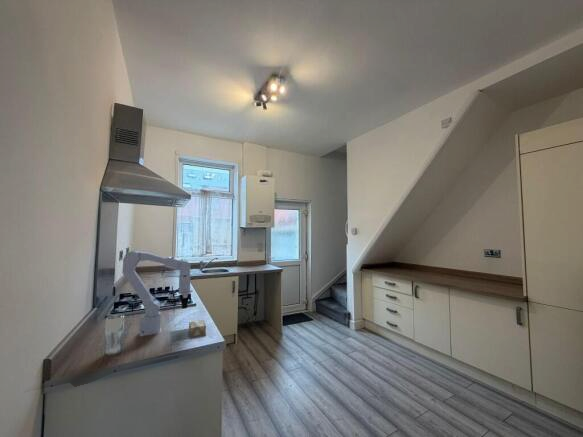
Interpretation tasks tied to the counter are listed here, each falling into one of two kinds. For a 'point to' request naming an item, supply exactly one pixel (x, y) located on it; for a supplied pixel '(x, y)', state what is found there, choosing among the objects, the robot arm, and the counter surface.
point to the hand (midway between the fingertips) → (184, 308)
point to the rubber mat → (182, 335)
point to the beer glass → (114, 333)
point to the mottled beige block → (197, 328)
